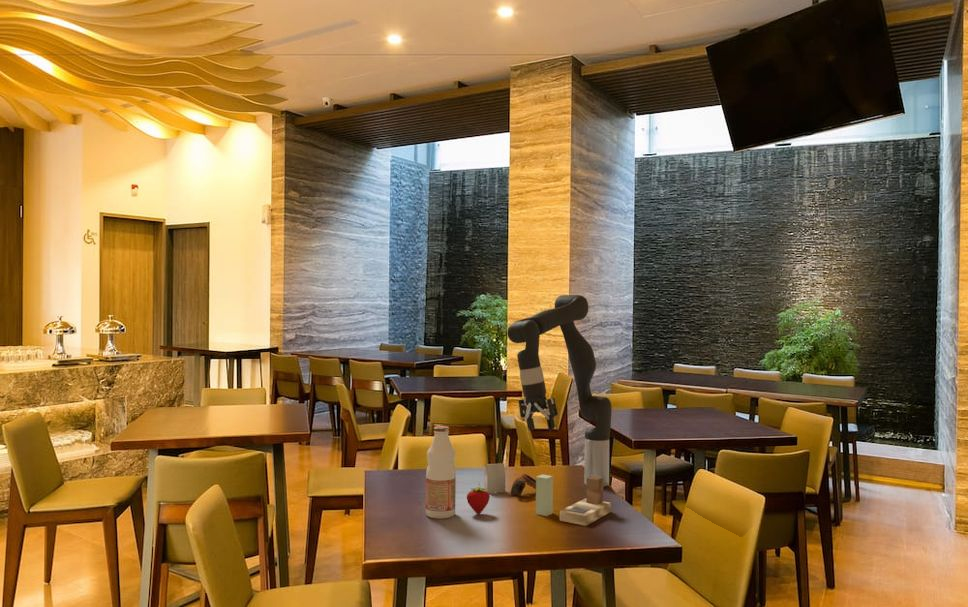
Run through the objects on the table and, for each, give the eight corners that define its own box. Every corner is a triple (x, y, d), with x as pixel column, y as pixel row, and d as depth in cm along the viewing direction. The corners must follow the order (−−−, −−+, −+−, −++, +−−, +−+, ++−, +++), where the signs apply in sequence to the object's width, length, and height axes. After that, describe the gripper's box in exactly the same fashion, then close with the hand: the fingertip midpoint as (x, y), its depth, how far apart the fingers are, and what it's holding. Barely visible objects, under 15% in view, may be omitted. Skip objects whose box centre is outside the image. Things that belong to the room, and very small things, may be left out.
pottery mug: (513, 491, 250) (525, 472, 251) (534, 506, 246) (545, 486, 246) (501, 490, 240) (513, 470, 240) (523, 506, 235) (535, 485, 235)
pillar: (542, 511, 224) (542, 474, 224) (552, 513, 222) (553, 476, 222) (535, 514, 221) (536, 476, 221) (546, 516, 218) (546, 478, 218)
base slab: (585, 507, 229) (585, 474, 229) (610, 512, 223) (610, 478, 224) (559, 520, 214) (559, 485, 214) (585, 525, 209) (586, 489, 209)
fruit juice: (433, 521, 212) (434, 430, 213) (421, 513, 220) (421, 426, 221) (460, 516, 217) (461, 428, 217) (447, 509, 225) (448, 423, 225)
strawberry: (464, 512, 222) (464, 481, 222) (486, 510, 224) (487, 479, 224) (469, 517, 216) (469, 485, 216) (491, 515, 218) (492, 484, 218)
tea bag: (505, 492, 247) (505, 464, 247) (487, 493, 245) (487, 465, 245) (502, 489, 250) (502, 462, 250) (484, 491, 249) (484, 463, 249)
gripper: (556, 377, 221) (565, 427, 221) (524, 379, 231) (532, 426, 231) (541, 383, 215) (551, 433, 216) (509, 384, 226) (518, 432, 226)
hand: (541, 430), depth 223 cm, fingers open, 8 cm apart
